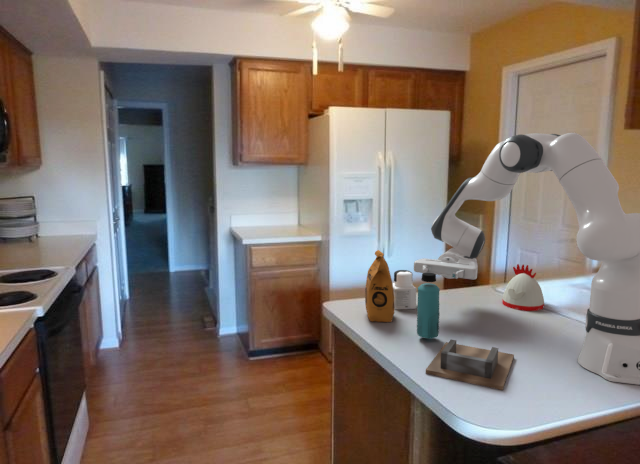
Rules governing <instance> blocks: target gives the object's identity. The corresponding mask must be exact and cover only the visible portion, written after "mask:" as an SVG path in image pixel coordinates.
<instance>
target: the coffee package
mask: <svg viewBox="0 0 640 464" xmlns="http://www.w3.org/2000/svg"><path fill="white" fill-rule="evenodd" d="M374 255H375V257H376V258H375V259H374V261H373V262H372V263H371V265H370V267H369V268H368V270H367V275H366V281H365V289H364V299H365V300H364V301H365V310H366V315H367V318H368V320H369V321H370V322H372V323H373V322H376V323H380V322H381V323H382V322H383V323H392V322H393V318H394V314H395V308H394V290H393V284H392V283H393V280H392V276H391V272H390V268H389V265H388V262H387V261H386V259H385V258H384V255H385V254H384V253H383V252H382V251H381V250H380V249H376V250H375V251H374Z"/></svg>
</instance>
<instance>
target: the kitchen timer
mask: <svg viewBox="0 0 640 464" xmlns="http://www.w3.org/2000/svg"><path fill="white" fill-rule="evenodd" d="M512 269H513V272H514V275H515V276H513V277H512V278H511V279H510V280H509V281H508V282H507V285H506V287H505V290H504V291H503V294H502V299H501V303H502V305H503V306H505V307H507V308H510V309H514V310H518V311H527V312H528V311H529V312H536V311H541V310H543V309H544V308H543V306H544V307H545V298H544V295H543V290H542V287H541V286H540V284H539V282H538V281H537V279H536V278H535V277H536V275H537V272H535V273H533V268H531V269H529V265H528V264H526V266H525V264H522V265H521V267H520V264H519V263H517V265H516V266H513V267H512ZM532 273H533V274H532Z"/></svg>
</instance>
